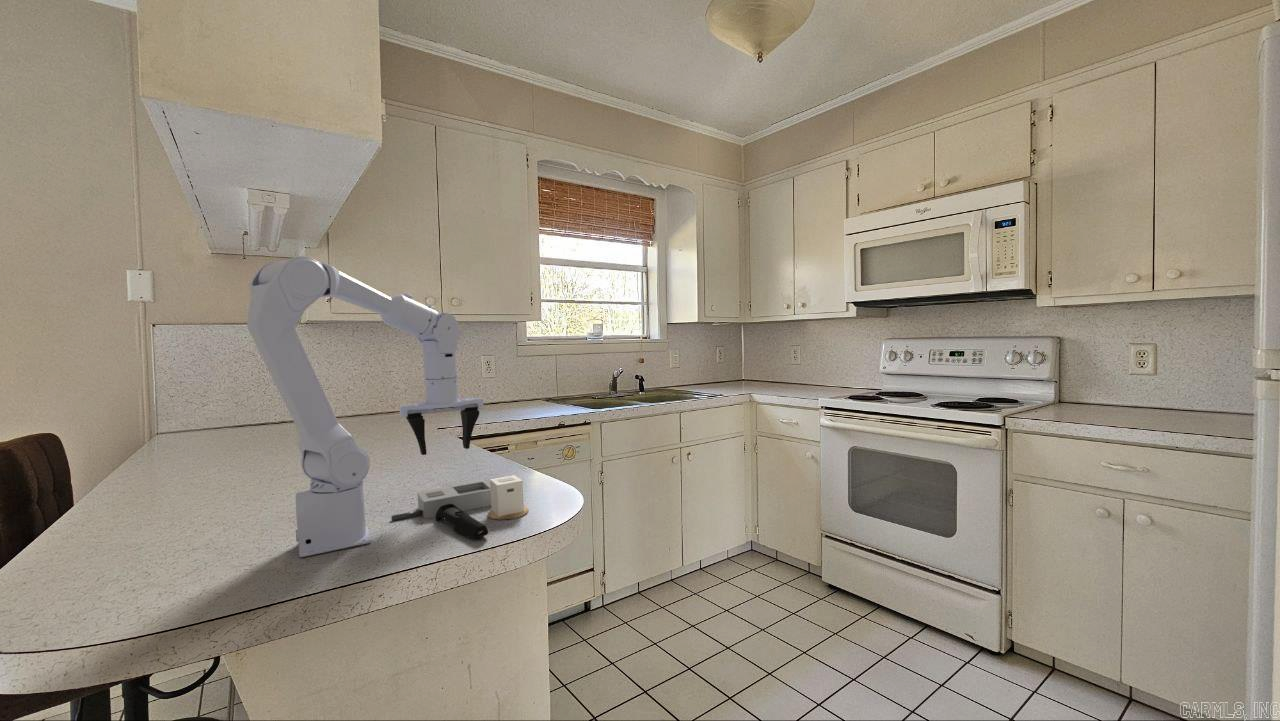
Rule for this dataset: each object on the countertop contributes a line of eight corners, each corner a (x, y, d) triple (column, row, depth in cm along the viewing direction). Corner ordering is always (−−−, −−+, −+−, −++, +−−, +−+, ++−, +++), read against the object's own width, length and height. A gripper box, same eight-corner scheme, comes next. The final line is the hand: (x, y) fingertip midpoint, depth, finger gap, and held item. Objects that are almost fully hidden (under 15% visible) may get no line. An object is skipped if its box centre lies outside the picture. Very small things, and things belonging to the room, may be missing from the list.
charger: (498, 516, 93) (497, 484, 93) (491, 509, 97) (489, 478, 97) (524, 511, 96) (522, 480, 95) (516, 504, 100) (514, 474, 99)
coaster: (494, 522, 92) (494, 520, 92) (483, 511, 98) (483, 509, 98) (534, 514, 95) (533, 512, 95) (521, 503, 101) (520, 501, 101)
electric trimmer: (471, 548, 82) (470, 528, 82) (433, 521, 94) (432, 503, 94) (494, 541, 85) (493, 521, 85) (454, 516, 97) (453, 498, 96)
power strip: (393, 525, 92) (392, 503, 92) (388, 513, 98) (387, 493, 98) (514, 501, 103) (513, 481, 103) (503, 492, 109) (502, 473, 109)
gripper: (475, 374, 107) (479, 441, 108) (395, 379, 100) (400, 452, 101) (484, 376, 101) (488, 447, 102) (400, 382, 94) (405, 459, 95)
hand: (445, 450), depth 101 cm, fingers open, 7 cm apart
